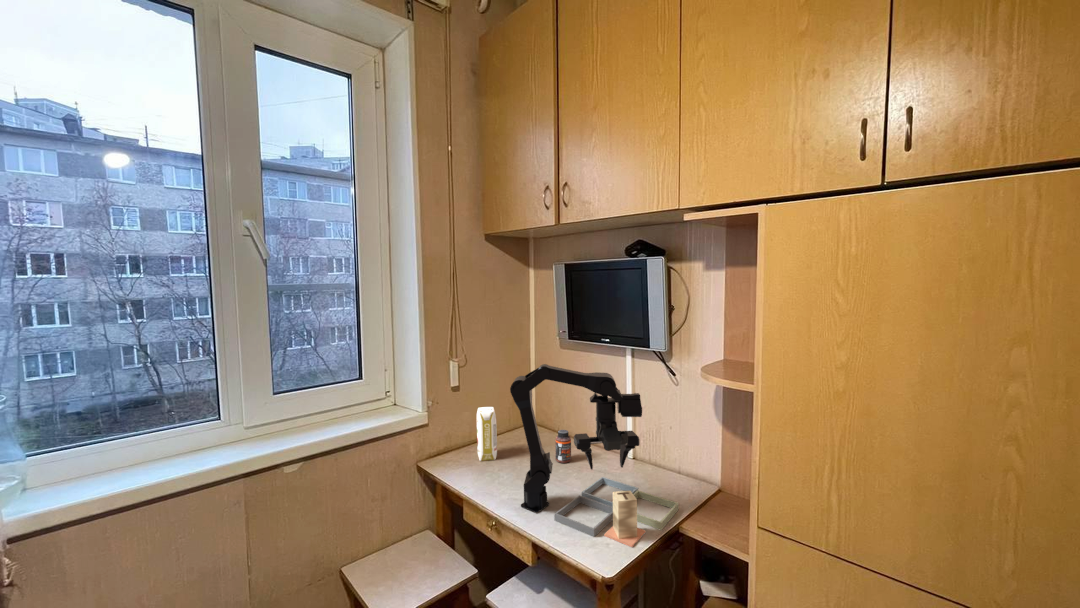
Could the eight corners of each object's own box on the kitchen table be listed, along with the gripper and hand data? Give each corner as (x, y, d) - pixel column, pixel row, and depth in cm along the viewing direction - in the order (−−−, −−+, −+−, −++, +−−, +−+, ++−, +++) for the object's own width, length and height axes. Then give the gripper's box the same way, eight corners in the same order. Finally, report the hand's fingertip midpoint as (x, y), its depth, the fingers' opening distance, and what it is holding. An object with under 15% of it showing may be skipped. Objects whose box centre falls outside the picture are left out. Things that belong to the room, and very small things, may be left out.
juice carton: (496, 452, 168) (495, 405, 167) (497, 460, 160) (496, 411, 159) (477, 453, 167) (476, 406, 166) (477, 462, 158) (476, 413, 158)
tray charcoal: (554, 520, 118) (554, 513, 118) (579, 501, 128) (579, 495, 128) (594, 536, 110) (593, 529, 110) (617, 515, 120) (617, 508, 120)
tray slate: (581, 498, 130) (581, 492, 130) (602, 482, 140) (602, 476, 140) (619, 511, 122) (618, 505, 122) (638, 493, 132) (638, 487, 132)
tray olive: (618, 514, 121) (618, 507, 120) (637, 496, 131) (637, 490, 131) (661, 530, 112) (661, 522, 112) (678, 509, 123) (678, 502, 123)
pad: (604, 536, 110) (604, 534, 110) (618, 522, 117) (618, 520, 117) (632, 547, 105) (632, 545, 105) (645, 532, 112) (645, 530, 112)
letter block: (618, 538, 108) (618, 500, 108) (613, 527, 113) (612, 491, 113) (637, 537, 109) (636, 499, 108) (630, 526, 114) (630, 490, 113)
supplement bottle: (562, 465, 155) (561, 435, 154) (552, 459, 159) (552, 430, 159) (574, 460, 158) (574, 431, 158) (564, 455, 163) (564, 427, 163)
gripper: (580, 427, 114) (581, 483, 115) (646, 423, 116) (646, 478, 117) (573, 415, 125) (573, 465, 126) (632, 411, 128) (633, 461, 128)
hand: (606, 468), depth 124 cm, fingers open, 9 cm apart
